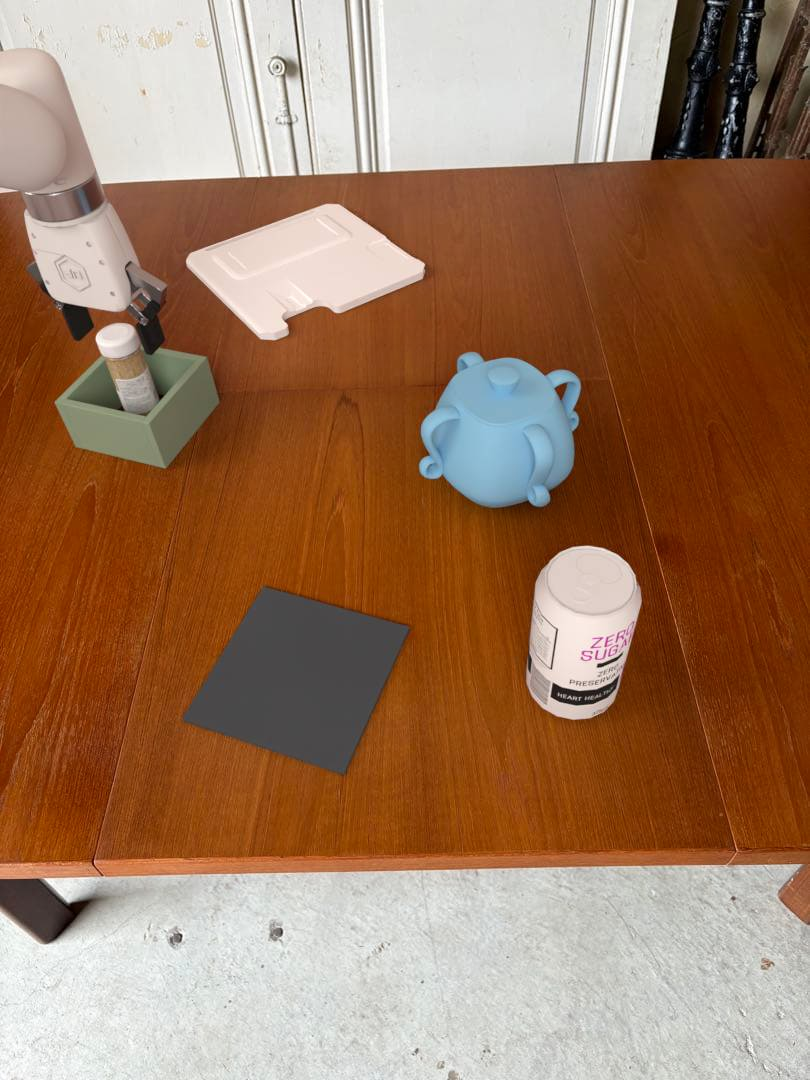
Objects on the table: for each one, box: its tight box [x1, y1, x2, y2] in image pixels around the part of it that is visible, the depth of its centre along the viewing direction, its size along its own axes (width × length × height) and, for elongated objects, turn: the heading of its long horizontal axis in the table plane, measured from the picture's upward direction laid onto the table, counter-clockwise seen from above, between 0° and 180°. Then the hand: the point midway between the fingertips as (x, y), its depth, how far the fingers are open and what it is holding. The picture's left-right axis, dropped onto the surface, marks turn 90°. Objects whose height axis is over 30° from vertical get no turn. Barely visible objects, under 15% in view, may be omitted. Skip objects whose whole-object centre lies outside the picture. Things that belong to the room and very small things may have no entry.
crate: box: [54, 343, 221, 469], centre depth 99 cm, size 13×13×7 cm
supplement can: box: [525, 545, 643, 721], centre depth 68 cm, size 8×8×15 cm
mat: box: [181, 586, 411, 776], centre depth 76 cm, size 16×16×1 cm
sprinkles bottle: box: [95, 322, 160, 416], centre depth 97 cm, size 5×5×13 cm
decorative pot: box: [418, 351, 582, 509], centre depth 88 cm, size 16×16×14 cm
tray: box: [185, 203, 426, 341], centre depth 124 cm, size 28×28×2 cm
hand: (119, 340), depth 93 cm, fingers open, 9 cm apart
